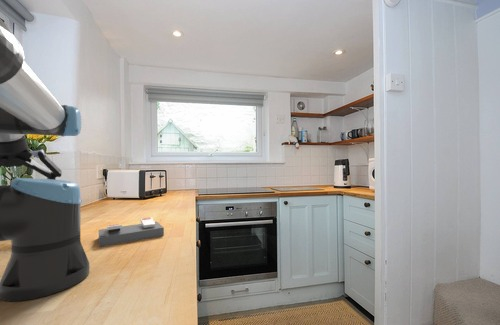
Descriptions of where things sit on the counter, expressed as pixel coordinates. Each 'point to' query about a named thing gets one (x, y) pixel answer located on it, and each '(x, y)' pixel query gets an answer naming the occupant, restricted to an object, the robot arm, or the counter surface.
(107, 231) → the power strip
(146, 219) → the right rocker
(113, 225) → the left rocker
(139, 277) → the counter surface
